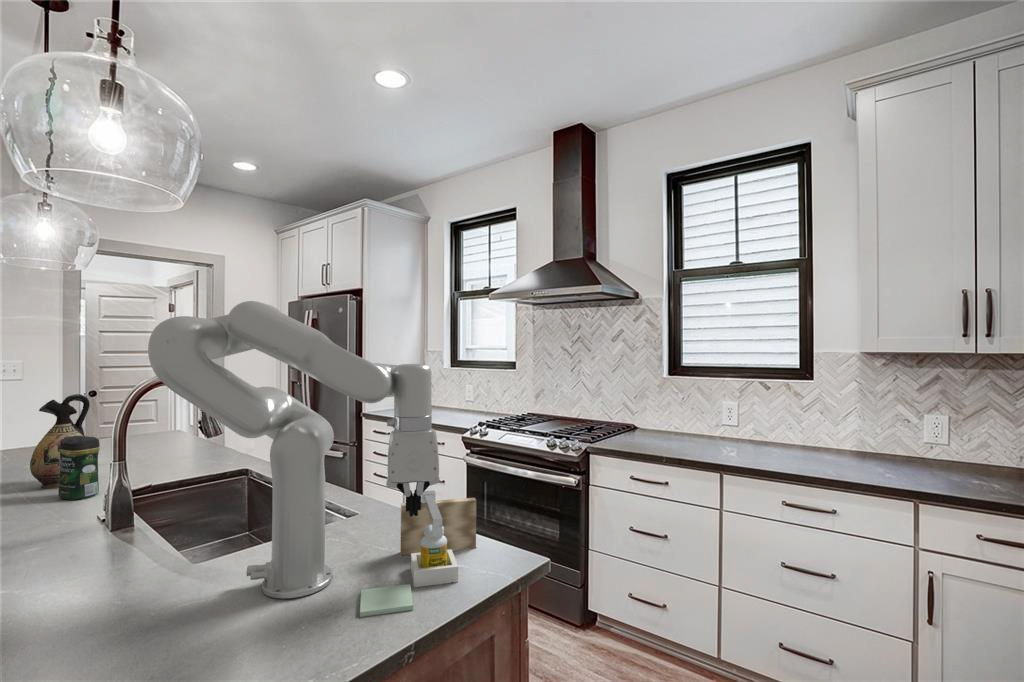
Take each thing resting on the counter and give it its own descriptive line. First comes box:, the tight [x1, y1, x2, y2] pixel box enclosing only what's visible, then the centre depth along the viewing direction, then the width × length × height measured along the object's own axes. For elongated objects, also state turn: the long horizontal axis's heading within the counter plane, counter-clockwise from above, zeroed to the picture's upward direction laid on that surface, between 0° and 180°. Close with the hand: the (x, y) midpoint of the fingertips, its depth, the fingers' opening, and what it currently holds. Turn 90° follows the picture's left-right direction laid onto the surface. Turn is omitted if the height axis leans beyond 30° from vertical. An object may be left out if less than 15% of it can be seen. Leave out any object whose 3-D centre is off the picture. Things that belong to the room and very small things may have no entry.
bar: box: [421, 490, 442, 536], centre depth 103 cm, size 3×19×3 cm, turn 16°
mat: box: [359, 583, 414, 618], centre depth 88 cm, size 9×8×1 cm
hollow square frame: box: [410, 549, 459, 588], centre depth 99 cm, size 9×9×3 cm
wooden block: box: [399, 497, 477, 557], centre depth 111 cm, size 17×2×11 cm, turn 106°
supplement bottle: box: [421, 525, 447, 568], centre depth 99 cm, size 5×5×10 cm
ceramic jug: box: [29, 393, 91, 490], centre depth 161 cm, size 17×15×30 cm
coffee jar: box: [58, 435, 101, 501], centre depth 148 cm, size 10×8×19 cm
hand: (413, 514), depth 99 cm, fingers closed
